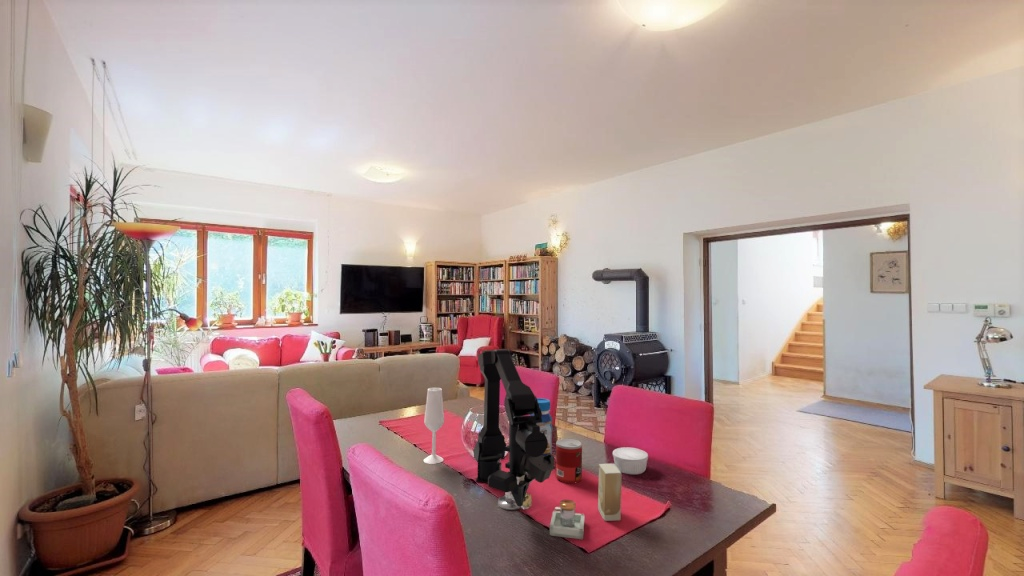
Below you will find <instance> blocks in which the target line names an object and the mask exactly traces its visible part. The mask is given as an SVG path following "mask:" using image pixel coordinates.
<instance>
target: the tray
mask: <svg viewBox="0 0 1024 576" xmlns="http://www.w3.org/2000/svg"><path fill="white" fill-rule="evenodd" d="M585 517H586V516H585V514H584V513H578V512H575V528H570V527H562V526H560V510H553V511H552V515H551V520H550V524H549V536H553V537H559V538H568V539H575V540H583V539H584V532H585V531H584V529H585Z"/></svg>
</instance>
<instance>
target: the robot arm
mask: <svg viewBox="0 0 1024 576" xmlns="http://www.w3.org/2000/svg"><path fill="white" fill-rule="evenodd" d="M477 356H478V357H477V362H478V366H479V371H480V372H481V375H482V376H483V378H484V395H483V396H484V397H483V398H484V403H483V404H484V405H483V426H482V427H481V430H480V431H479V432H478V434H477V441H476V442H475V446H474V447H473V449H472V450H473V459H475V461H476V463H477V477H476V478H475V482H477V483H478V482H479V483H487V487H489V488H493V489H495V490H498V491H500V492H503V493H505V492H510V491H511V493H512V495H513V497H514V500H515V502H516V504H517V506H519V507H521V506H522V505H523V502H524V499H525V496H526V493H527V492H528V489H529V487H530V484H531V483H532V482H533V481H536V482H537V483H543V482H545V481H546V480H547V479H548V480H549V479H550V477H551V474H552V472H553V471H554V470H556V460H555V456H554V455H553V453H552V454H550V453H549V454H548V455H546V456H543V455H542V454H543V453H544V452H545V451H546V449H547V446H548V441H547V438H546V436H545V435H544V434H543V433H542V432H541V431H540V426H538V425H536V423H542V418H541V417H542V412H541V409H540V406H539V403H538V401H537V398H538V397H537V396H536V395H535V394H534V392H533V390H532V388H531V387H530V386H528V385H527V384H526V383H524V382H523V380H522V379H521V376H520V374H519V372H518V370H517V367H516V365H515V363H514V360H513V357H512V352H511V350H510V349H505V348H503V349H501V348H500V349H487V350H486V349H485V350H484V349H483V350H481V353H479V354H478V355H477ZM501 383H502V385H503V387H504V390H505V396H504V400H503V401H504V403H503V405H504V410H505V413H506V416H507V420H508V422H509V426H508V430H509V431H508V445H507V443H506V440H505V438H506V437H505V436H504V434H503V433H502V431H501V429H500V407H501V405H500V403H501V401H500V400H501V398H500V397H501V396H500V395H501ZM533 413H534V416H530V415H532V414H533ZM506 452H508V461H507V462H506V463H505V464H504V465H505V466H504V467H505V468H506V469H509V471H505V470H502V462H501V460H504V459H505V455H506Z"/></svg>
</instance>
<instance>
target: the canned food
mask: <svg viewBox="0 0 1024 576" xmlns="http://www.w3.org/2000/svg"><path fill="white" fill-rule="evenodd" d="M582 469H583V444H582V442H581V441H579V440H578V439H573V438H562V439H558V440H556V443H555V476H556V479H557V480H558V481H559V480H560V481H559V482H561V481H562V482H561V483H564V482H566V483H565V484H576V483H575V482H577V483H579V482H581V480H582V478H583V477H582V475H583V472H582V471H583V470H582Z"/></svg>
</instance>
